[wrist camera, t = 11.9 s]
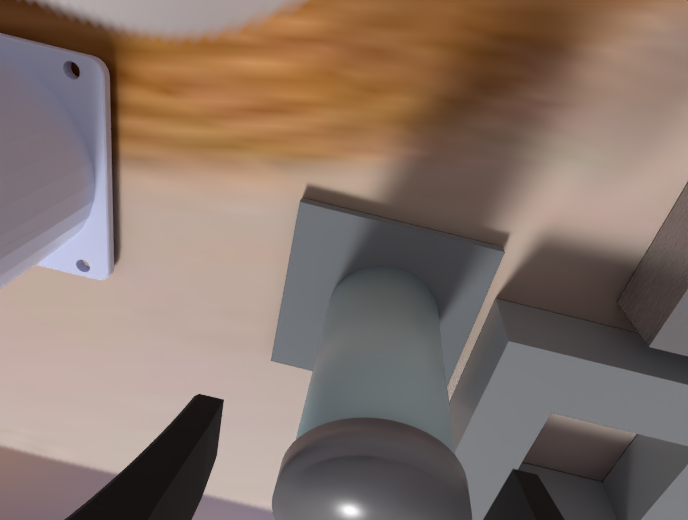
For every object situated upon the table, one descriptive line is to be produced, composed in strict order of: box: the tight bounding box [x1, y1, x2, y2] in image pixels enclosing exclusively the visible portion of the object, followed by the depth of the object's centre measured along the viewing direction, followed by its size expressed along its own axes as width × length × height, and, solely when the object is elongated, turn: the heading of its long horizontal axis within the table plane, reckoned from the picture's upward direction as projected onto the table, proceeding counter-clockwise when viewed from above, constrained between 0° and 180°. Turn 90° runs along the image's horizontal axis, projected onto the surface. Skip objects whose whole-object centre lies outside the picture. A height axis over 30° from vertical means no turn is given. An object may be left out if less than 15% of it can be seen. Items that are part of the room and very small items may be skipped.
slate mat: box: [271, 198, 505, 385], centre depth 18 cm, size 7×7×1 cm
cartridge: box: [272, 266, 472, 520], centre depth 14 cm, size 4×4×8 cm
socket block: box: [449, 299, 688, 520], centre depth 19 cm, size 10×10×2 cm
